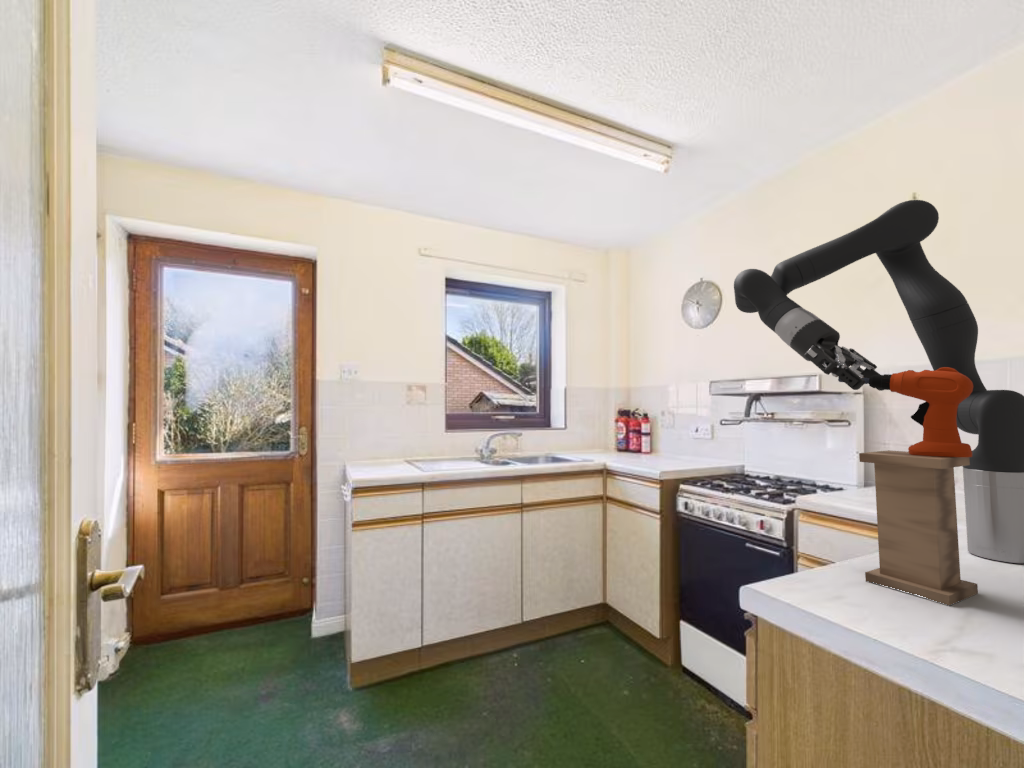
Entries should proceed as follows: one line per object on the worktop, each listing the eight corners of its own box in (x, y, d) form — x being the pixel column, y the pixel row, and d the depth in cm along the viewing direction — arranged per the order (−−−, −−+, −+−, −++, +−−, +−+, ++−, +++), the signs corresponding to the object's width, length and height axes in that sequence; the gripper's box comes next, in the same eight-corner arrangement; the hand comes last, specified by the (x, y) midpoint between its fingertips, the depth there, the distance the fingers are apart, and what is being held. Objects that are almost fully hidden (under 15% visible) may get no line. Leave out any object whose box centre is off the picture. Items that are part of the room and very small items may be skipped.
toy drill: (837, 441, 87) (844, 364, 87) (974, 461, 72) (983, 368, 72) (827, 442, 85) (834, 363, 84) (968, 464, 69) (978, 367, 69)
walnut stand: (895, 571, 82) (888, 450, 83) (978, 593, 72) (969, 455, 73) (865, 581, 78) (859, 453, 79) (949, 606, 68) (940, 459, 69)
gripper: (797, 315, 87) (868, 369, 76) (839, 321, 93) (910, 372, 82) (771, 346, 91) (835, 401, 80) (813, 350, 97) (878, 401, 87)
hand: (873, 386), depth 81 cm, fingers open, 8 cm apart
